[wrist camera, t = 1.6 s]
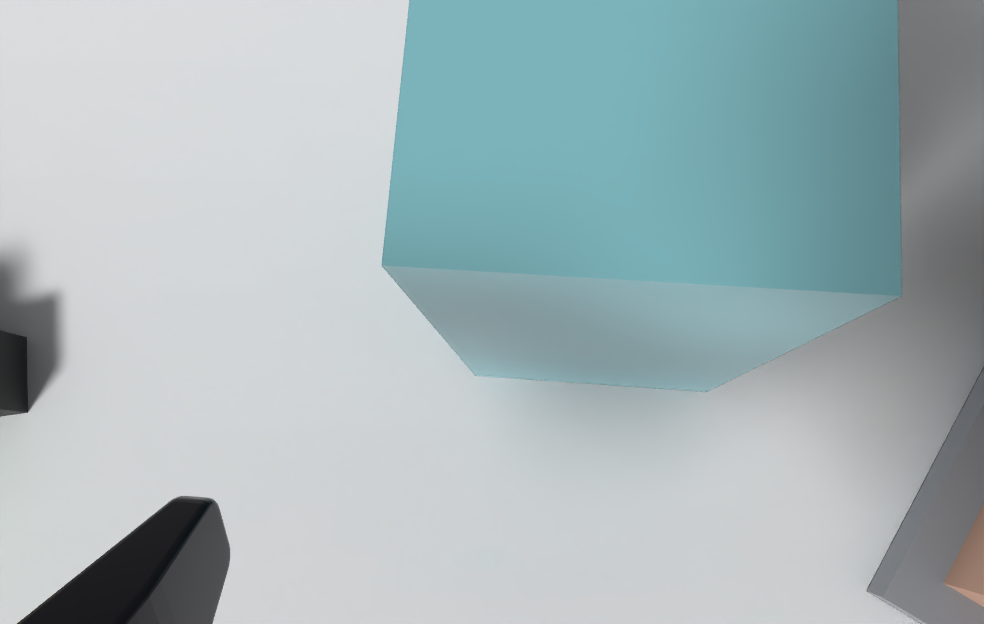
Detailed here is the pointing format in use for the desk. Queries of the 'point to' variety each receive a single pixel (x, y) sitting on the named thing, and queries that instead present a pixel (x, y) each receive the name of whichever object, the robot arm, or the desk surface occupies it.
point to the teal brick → (645, 182)
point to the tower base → (943, 532)
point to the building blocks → (13, 374)
